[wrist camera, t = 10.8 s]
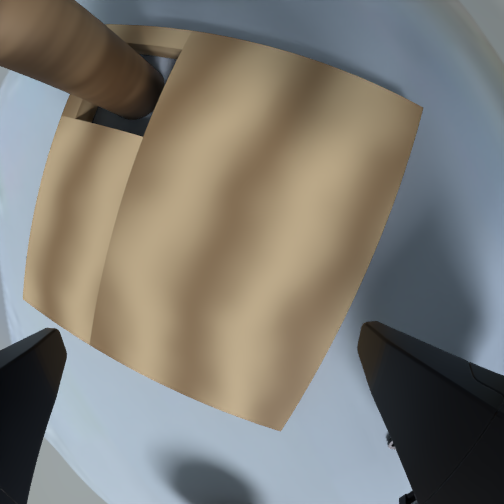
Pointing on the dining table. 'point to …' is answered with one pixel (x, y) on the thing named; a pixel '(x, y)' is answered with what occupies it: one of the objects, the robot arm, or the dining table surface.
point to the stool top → (220, 219)
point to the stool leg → (77, 56)
